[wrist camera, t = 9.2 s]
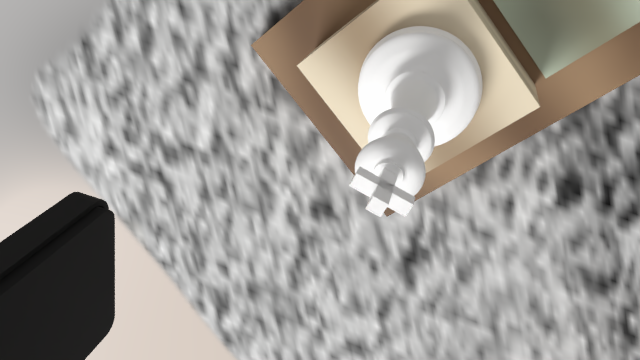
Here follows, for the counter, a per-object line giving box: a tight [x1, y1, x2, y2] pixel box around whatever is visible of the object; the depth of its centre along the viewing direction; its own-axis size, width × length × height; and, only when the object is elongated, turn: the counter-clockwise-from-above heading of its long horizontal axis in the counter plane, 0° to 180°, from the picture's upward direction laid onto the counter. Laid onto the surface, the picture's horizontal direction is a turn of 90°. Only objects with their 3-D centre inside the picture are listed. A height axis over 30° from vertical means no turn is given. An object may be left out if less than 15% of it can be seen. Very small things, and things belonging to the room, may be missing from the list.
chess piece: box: [349, 26, 483, 217], centre depth 19 cm, size 5×5×10 cm
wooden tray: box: [251, 0, 640, 216], centre depth 23 cm, size 18×11×4 cm, turn 130°
